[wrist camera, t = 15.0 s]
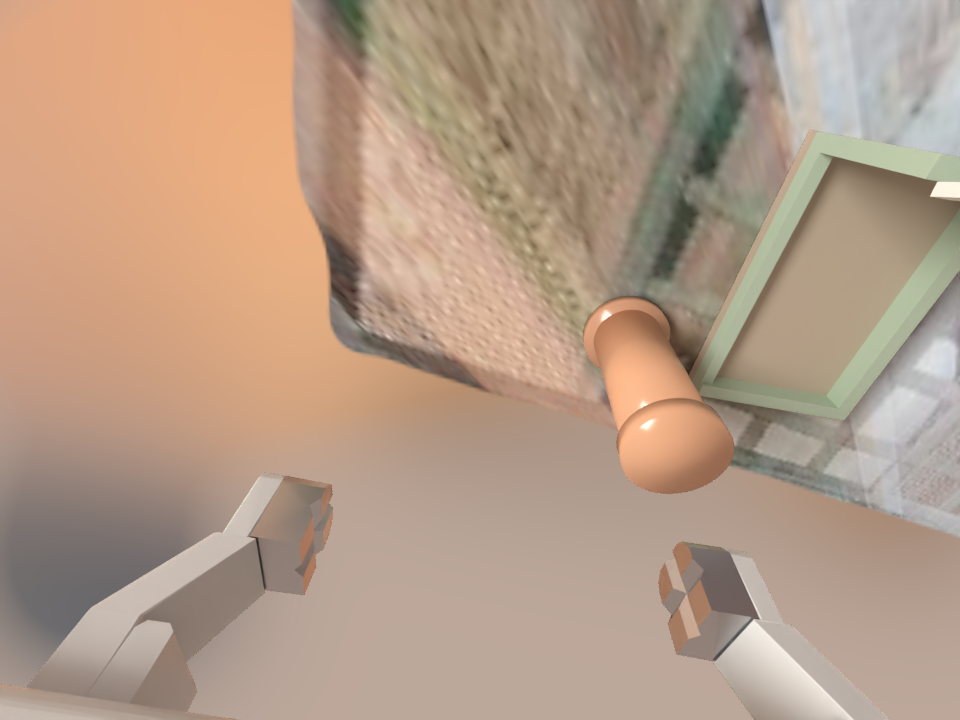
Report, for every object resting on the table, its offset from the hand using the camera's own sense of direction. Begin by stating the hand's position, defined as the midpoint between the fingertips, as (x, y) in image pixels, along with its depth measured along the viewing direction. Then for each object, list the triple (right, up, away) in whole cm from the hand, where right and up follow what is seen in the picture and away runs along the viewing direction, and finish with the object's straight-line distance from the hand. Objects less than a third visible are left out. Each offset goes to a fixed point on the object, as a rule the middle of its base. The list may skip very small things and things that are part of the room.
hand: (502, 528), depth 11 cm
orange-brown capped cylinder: (+13, +6, +31) cm, 34 cm away
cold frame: (+28, +10, +28) cm, 41 cm away
